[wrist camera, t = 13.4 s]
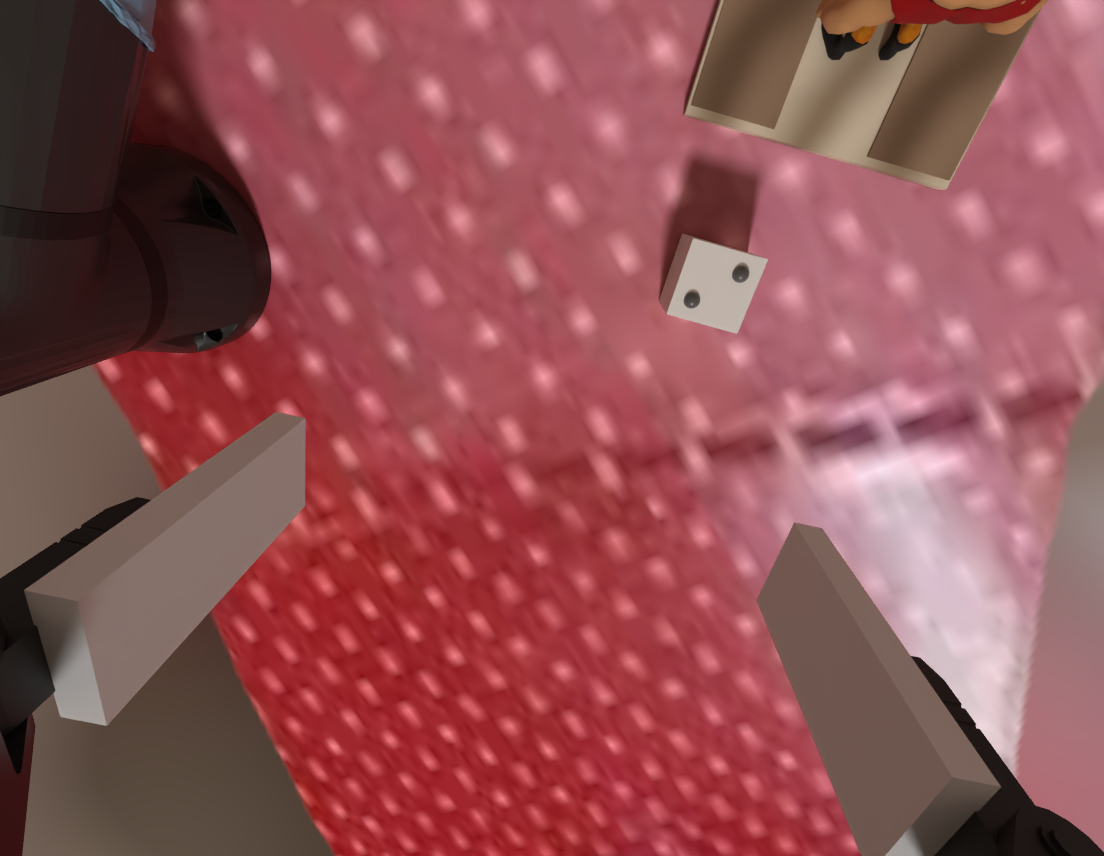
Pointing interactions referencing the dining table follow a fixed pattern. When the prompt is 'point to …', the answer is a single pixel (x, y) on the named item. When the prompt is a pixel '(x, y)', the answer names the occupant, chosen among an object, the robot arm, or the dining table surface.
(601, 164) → the dining table surface
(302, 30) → the dining table surface
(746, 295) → the die
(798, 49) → the board
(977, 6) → the action figure
